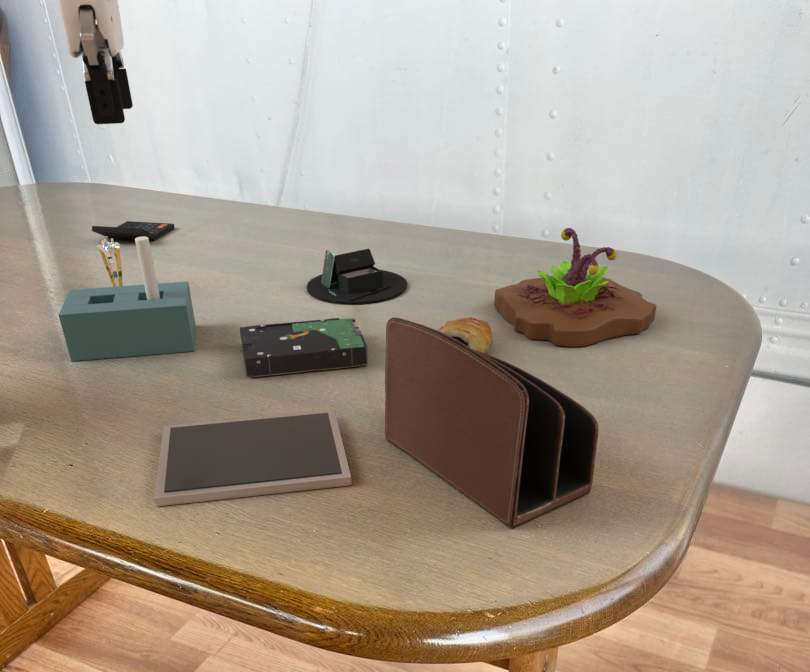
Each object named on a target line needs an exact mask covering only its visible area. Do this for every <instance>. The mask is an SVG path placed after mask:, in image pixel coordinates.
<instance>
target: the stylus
mask: <svg viewBox="0 0 810 672" xmlns="http://www.w3.org/2000/svg"><path fill="white" fill-rule="evenodd" d="M134 242H135V247H136V251H137V258H138V262H139V267H140V272H141V277H142V282H143V285H144V286H145V291H146V296H147V300H154V299H160V295H159V289H158V284H159V283H158V280H157V279H158V278H157V274H156V269H155V265H154V260H153V259H154V258H153V254H152V249H151V244H150V240H149V238H148V237H137V238H135V239H134Z"/></svg>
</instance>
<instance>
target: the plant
mask: <svg viewBox="0 0 810 672" xmlns="http://www.w3.org/2000/svg"><path fill="white" fill-rule="evenodd" d="M560 238H561V240H563V241H569V240H571V239H572V244H573V245H572V250H573V251H572V255H571V257H572V259H571V260H570V262H568V261H566V260H562V261H561V262H560V263H559V266H558V267H555V266H554V265H549V270H550V272H551V273H552V275H550V274H548V273H547V272H545V271H541V270H536V274H538V276H539V277H535V278H529V279H523V280H521V281H519V282H518V283H513V284H510V285H505V286H503V287H500V288H498V289H495V291H494V298H493V299H494V300H493V305H494V309H495V311H497V312H498V313H499V314H502V316H503V319H504V320H505V321H506V322H508V323H509V324H510V325H512V326H514V327H513V330H514V332H516V333H520V334H524V335H525V336H526V337H527V338H528V339H529V340H532V341H549V342H551V343H552V344H553V345H554V346H558V347H568V348H569V347H570V348H579V347H587V346H590V345H594V344H597V343H599V342H602V341H604V340H609V339H613V338H617V337H618V338H619V337H623V336H629V335H631V336H632V335H639V334H641V333H642V332H643V331H645V330H647V329H649V327H650V326H651V324H652V322H654V320H655V317H656V313H657V304H656V303H653V302H650V301H647V300H646V299H644V297H643V294H642V293H641V292H639V291H636V290H634V289H631V288H628V287H625V286H623V285H621V284H619V283H618V282H615V281H614V280H612V279H610V278H607V277H605V276H606V274H607V272H608V271H609V267H608V266H602V267H599V263H598V261H597V260H596V258H597V256H598V255H600V254H602V253H605V255H606V258H607V260H609V261H615V260H616V258H617V257H618V256H617V251H616V250H615V249H614V248H612V247H610V246H607V247H606V246H603V247H600V248H597V249H596V250H595V251H593V252H592V254H591V253H587V254H584V255H583V256H582V254H581V252H582V250H581V244H580V242H579V237H578V234H577V232H576V230H575V229H573V228H572V227H566V228H564V229H563V230H562V231H561V233H560Z"/></svg>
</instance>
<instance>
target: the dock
mask: <svg viewBox="0 0 810 672" xmlns="http://www.w3.org/2000/svg"><path fill="white" fill-rule="evenodd" d="M157 284H158V289H159V295H160V299H154V300H147V296H146V291H145V286H144V284H135V285H134V284H133V285H123V286H118V287H113V286H106V287H92V288H76V289H69V290H68V293H67V294H66V297H65V299H64V301H63V304H62V306H61V308H60V311H59V313H58V318H59V323H60V326H61V330H62V334H63V336H64V337H63V338H64V340H65V345H66V347H67V351H68V355H69V358H70V362H82V360H83V361H92V360H93V361H94V359H95V360H105V359H104V358H107V359H118V358H117V357H119V358H129V357H141V356H142V357H143V356H154V355H166V354H178V353H189V352H195V345H196V344H195V343H196V328H197V326H196V325H197V324H196V317H195V313H194V308H193V301H192V295H191V290H190V284H189V281H174V282H161V283H157ZM80 360H81V361H80Z"/></svg>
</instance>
